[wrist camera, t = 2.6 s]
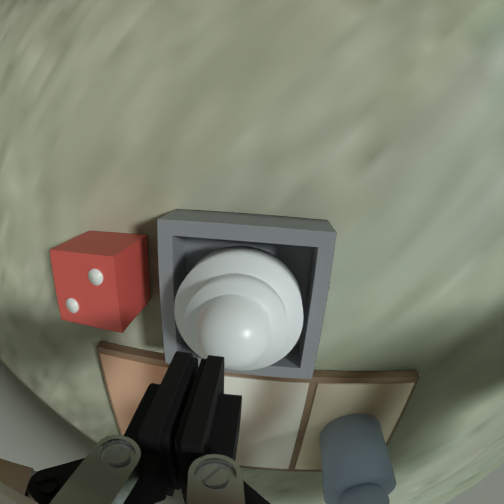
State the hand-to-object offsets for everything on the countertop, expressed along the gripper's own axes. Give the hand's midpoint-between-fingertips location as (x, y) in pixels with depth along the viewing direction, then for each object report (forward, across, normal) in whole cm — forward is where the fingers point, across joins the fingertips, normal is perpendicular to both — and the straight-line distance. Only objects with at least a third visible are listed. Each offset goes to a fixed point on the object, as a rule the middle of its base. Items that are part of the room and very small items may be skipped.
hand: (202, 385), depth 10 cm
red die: (+10, +8, 0) cm, 12 cm away
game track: (+9, -2, +12) cm, 15 cm away
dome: (+7, -1, 0) cm, 7 cm away
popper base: (+9, -1, 0) cm, 9 cm away
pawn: (+8, -10, +12) cm, 17 cm away
